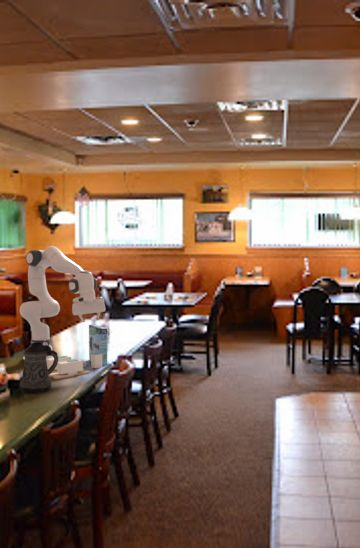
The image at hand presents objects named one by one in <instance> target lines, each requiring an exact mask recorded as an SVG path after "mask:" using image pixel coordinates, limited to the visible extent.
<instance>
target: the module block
mask: <svg viewBox="0 0 360 548" xmlns="http://www.w3.org/2000/svg"><path fill="white" fill-rule="evenodd" d="M90 367H91V368H93V369H98V368H103V365H102V354H100V353H94V354H91V360H90Z"/></svg>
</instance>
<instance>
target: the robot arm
mask: <svg viewBox="0 0 360 548" xmlns="http://www.w3.org/2000/svg"><path fill="white" fill-rule="evenodd" d="M25 261H26V263H27V264H28V269H27V281H28V282H27V283H28V291H29V293H30V294H31V295H33V296H35V297H37V298H38V300H31V301H26V302H22V304H21V305H20V306H19V314H20V316H21V317H22V318H23V319H24V320H26V321H27V322H28V324H29V325H30V329H31V339H30V345H31V344H32V343H42V345H48V346H49V347H50V348H51V350H53V346H52V345H51V338H50V327H49V325H48V324H46V323H45V322H42V321H41V319H42V318H52V317H55V316H57V315H59V312H60V311H61V306H60V303H59V302H58V301H57V300H55V299H54V297H51V295H50V293H49V291H48V287H47V280H46V269H47V270H50V269H53V270H54V271H55V272H57V273H62V274H63V273H64V274H71V275H74V276H75V277H73V278H71V279H70V280H69V281H68V286H67V287H68V290H69V291H70V293H72V294H75V295H77V294H79V296H77V297H75V298H73V299H72V305H71V307H72V308H71V309H72V310H71V311H72V312H71V313H72V315H73V316H78V317H79V319H80V322H81V323H85V319H84V318H83V315H89V314H96V315H97V316H96V317H95V321H100V316H101V313H104V312H106V309H107V308H106V305H105V298H104V297H102V296H97V297H96V292H95V291H97V289H98V281H97V279H96V278H95V277H94V275H93V273H92V272H91V271H89V270H84V269H83V268H82V266H80V265H79V264H78V263H77V262H74V261H73V260H72V259H70V258H68V256H66V255H65V254H64V253H63V252H62V250H60V249H59V248H58V247H56V246H55V245H50V246H47V247H46V248H45V249H32V250H29V251H28V252H27V254H26V256H25ZM48 358H54V357H53V356H46V359H48ZM22 360H24V361H25V356H23V357H22Z"/></svg>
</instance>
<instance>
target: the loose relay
mask: <svg viewBox="0 0 360 548" xmlns="http://www.w3.org/2000/svg"><path fill="white" fill-rule="evenodd" d="M86 367H88V362H87V361H85V360H83V368H86Z"/></svg>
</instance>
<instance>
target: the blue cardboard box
mask: <svg viewBox="0 0 360 548" xmlns="http://www.w3.org/2000/svg"><path fill="white" fill-rule="evenodd" d="M88 352H89V353H88V357H89V361H91V354H94V353H100V354H102V366H106V365H107V366H108V328H106V327H103V326H101V325H98V324H89V325H88Z"/></svg>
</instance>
